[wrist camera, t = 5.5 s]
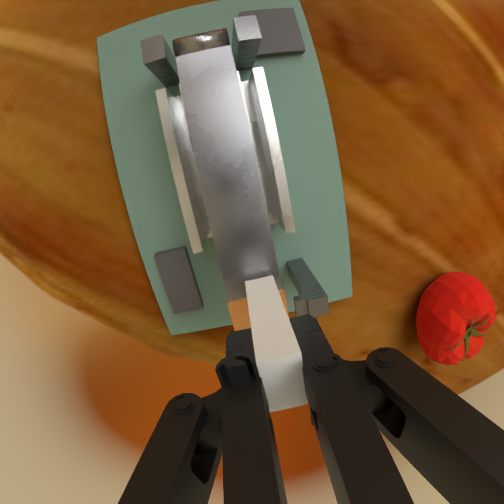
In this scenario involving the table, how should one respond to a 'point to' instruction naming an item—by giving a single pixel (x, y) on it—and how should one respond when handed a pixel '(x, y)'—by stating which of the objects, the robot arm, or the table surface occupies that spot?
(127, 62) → the board
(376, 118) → the table surface
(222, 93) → the silver flat strip
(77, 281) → the table surface
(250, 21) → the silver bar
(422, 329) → the tomato
